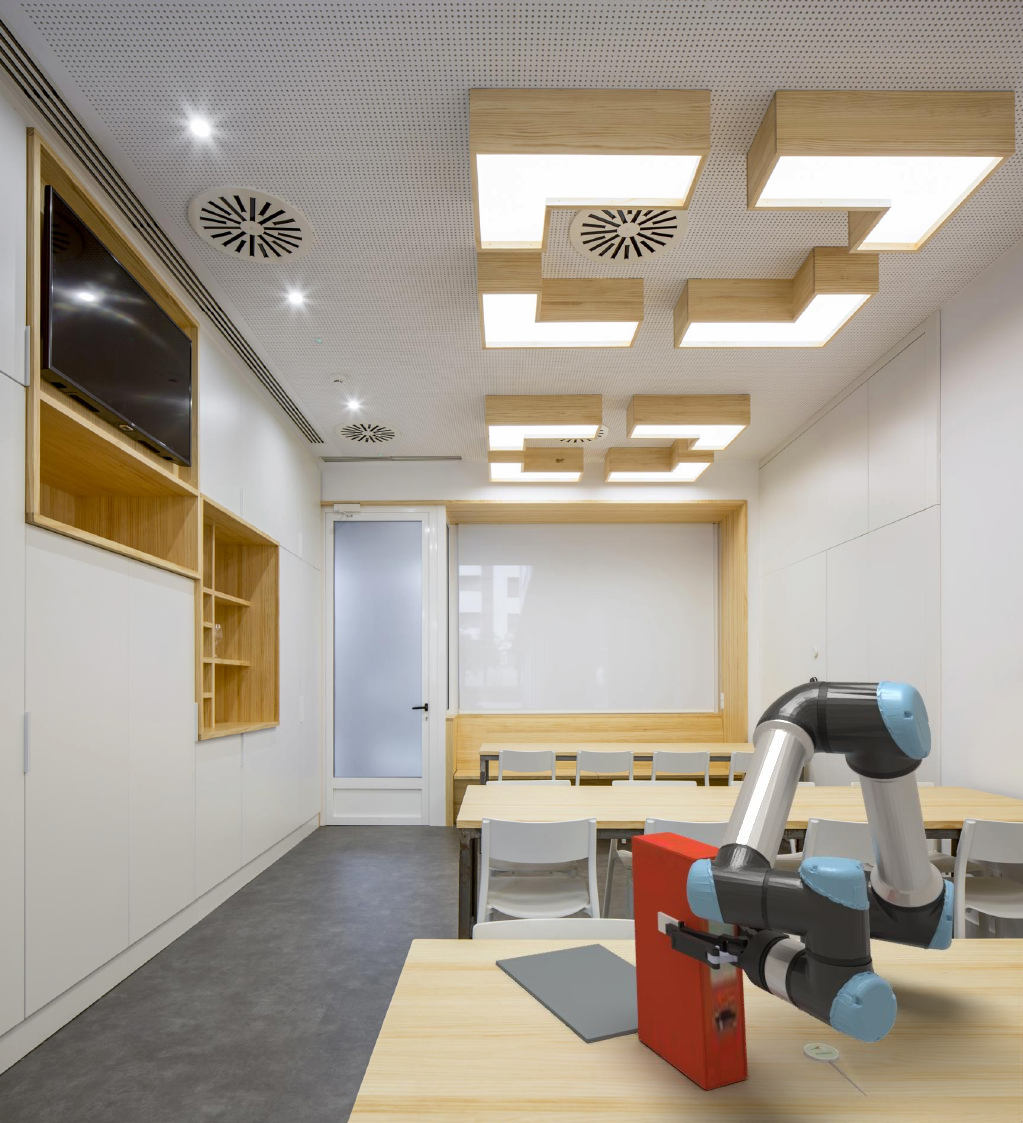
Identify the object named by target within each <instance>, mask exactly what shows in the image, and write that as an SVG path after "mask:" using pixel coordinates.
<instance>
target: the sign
mask: <svg viewBox="0 0 1023 1123" xmlns="http://www.w3.org/2000/svg"><path fill="white" fill-rule="evenodd" d="M802 1050H803V1054H804V1055H805V1057H807V1058H808V1059H810V1060H813V1061H815V1062H820V1063H829V1064H830V1065H831V1066H832V1067H833V1068H834V1069H835V1070H836V1071H838V1072H839V1073H840V1074H841V1075H842V1076H843V1077H844V1078H845V1079H846V1080H847V1081H848V1082H849V1083H851V1084H852V1085H853V1086H854V1087H855V1088H856V1089H858V1091H859V1092H860V1093H862V1094H863V1095H864V1096H865V1097H867V1096H868V1095H867V1094H866V1093H865V1092H864V1091H863V1090H862V1089H861V1088H859V1086H857V1085H856V1083H855V1082H853V1080H851V1079H850V1078H849V1077H848V1076H847V1075H846V1074H845V1073H844V1072H843V1071H842V1070H841V1069H840V1068H839V1067H838V1066H837V1065H836V1064H835V1063H834V1062H837V1061H838V1060H839V1059H840V1052H839V1050H837V1049H836V1048H835V1047H834V1046H831V1045H828V1044H827V1043H821V1042H812V1043H807V1044H805V1045H804V1046H803V1049H802Z"/></svg>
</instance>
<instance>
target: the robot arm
mask: <svg viewBox="0 0 1023 1123" xmlns="http://www.w3.org/2000/svg"><path fill="white" fill-rule="evenodd" d="M931 733H932V732H931V728H930V724H929V715H928V712H927V709H926V705H925V702H924V699H923V697H922V695H921V693H920V691H919V690H918V689H917V688H916V687H915V686H913V685H911V684H910V683H907V682H906V683H905V682H891V681H889V680H882V681H880V682H866V681H865V682H864V681H863V682H862V681H861V682H860V681H855V682H854V681H821V680H820V681H819V680H818V681H809V682H806V683H801V684H800V685H797V686H794V687H793V688H791V689H789V690H788V691H786V692H785V693H783V694H782V695H780V696H779V697H778V698H776V700H774V701H773V702H772V703H771V704H770V705H769V706H768V708H766V710H765V711H764V712H763V713H762V715H761V716H760V718H759V720H758V721H757V724H756V726H755V729H754V731H753V734H752V745H753V747H754V751H753V753H752V756H751V758H750V761H749V764H748V766H747V770H746V773H745V776H744V778H743V781H742V783H741V787H740V789H739V792H738V796H737V797H736V801H735V804H734V806H733V809H732V812H731V815H730V817H729V819H728V822H727V826H726V827H725V831H724V834H723V837H722V840H721V842H720V845H719V846H718V848H719V850H718V853H717V855H716V858H715V860H711V859H707V860H706V859H699V860H697V861H696V862H695V863H693V864H692V866H691V868H690V870H689V874H688V879H687V898H688V902H689V905H690V909H691V911H692V912H693V913H694V914H695V915H696V916H697V917H700V918H703V919H707V920H711V921H715V922H719V923H721V924H725V923H727V924H733V925H737V930H738V937H736V936H732V935H728V934H722V935H720V936H718V935H714V934H711V933H707V932H703V931H696V930H694V929H692V928H688V927H686V925H685V924H684V921H678V920H676V919H674V918H672V917H670V916H668V915H666V914H664V913H662V912H658V930H659V931H661V932H663V933H664V934H666V935H668V936H669V937H671V948H672V949H674V950H676V951H678V952H681V953H683V954H685V955H687V956H690V957H692V958H694V959H697V960H699V961H701V962H703V963H706V964H707V965H708V966H710V967H711V968H712V969H715V970H719V969H720V963H726V962H727V963H730V964H731V965H732V966H736V967H738V968H741V969H743V971H744V972H743V973H745V975H746V977H747V978H748V980H749V981H750V982H751V983H752V984H753V985H754V986H755V987H757V988H759V989H761V990H762V991H765V992H767V993H769V995H772V996H775V997H776V998H779V999H780V1000H782V1001H784V1002H786V1003H787V1004H790V1005H792V1006H793V1007H795V1008H797V1010H798V1011H799V1012H804V1013H806V1014H808V1015H809V1016H811V1017H812V1018H815V1019H816V1020H819V1021H820V1022H822V1023H824V1024H825V1025H828V1026H829V1027H831V1028H832V1029H833V1030H835V1031H836V1032H838V1033H840V1034H844V1035H846V1036H848V1037H850V1038H853V1039H855V1040H859V1041H860V1042H863V1043H870V1044H871V1043H876V1042H879V1041H881V1040H883V1039H884V1038H886V1037H887V1035H889V1033H890V1032H891V1031H892V1029H893V1027H894V1026H895V1025H894V1024H895V1022H896V1018H897V1013H898V1003H897V997H896V995H895V993H894V991H893V988H892V986H891V984H890V983H889V982H888V981H887V980H886V979H885V978H882V977H881V976H880V975H879V974H877V973H875V970H874V966H873V963H874V962H873V957H872V954H871V952H872V950H871V949H872V948H871V940H875V941H876V940H877V941H882V942H886V943H891V944H892V943H893V944H898V945H903V946H907V947H912V948H913V947H914V948H919V949H924V950H936V951H937V950H939V951H946V950H948V949H949V948H951V946H952V940H953V924H954V922H953V921H954V902H955V900H954V899H955V883H953V881H949V880H948V879H945V878H943V876H942V873H941V871H940V870H939V869H938V867H936V865H934V864H933V863H932V862H931V860H930V854H929V848H928V843H927V842H928V841H927V836H926V831H925V823H924V817H923V812H922V806H921V800H920V793H919V789H918V787H919V786H918V782H917V781H918V780H917V776H916V771H917V770H918V769H919V768H920V766H921V765H922V762H923V760H924V759H926V758H927V757H929V755H930V754H931V750H932V734H931ZM818 753H820V754H821V753H822V754H823V753H825V754H834V755H835V754H836V755H844V757H845V763H846V764H847V766H848V768H849V769H850V770H851V771H853V773H854V774H856V775H858V778H859V784H860V788H861V793H862V798H863V803H864V808H865V814H866V818H867V822H868V829H869V834H870V839H871V843H872V848H873V852H874V853H873V854H874V858H875V862H876V863H875V864H874V866H873V867H872V868H871V870H866V869H864V865H863V863H862V861H861V860H858V859H854V858H850V857H838V856H810V857H807V858H804V859H803V860H802V862H801V863H800V864H801V865H800V866H799V868H798V869H797V870H798V871H794V870H793V871H792V870H787V869H780V868H779V869H778V868H774V867H775V863H776V861H777V856H778V853H779V850H780V847H781V843H782V839H783V836H784V833H785V829H786V826H787V822H788V819H789V815H790V813H791V812H790V811H791V808H792V805H793V801H794V798H795V796H796V795H795V794H796V792H797V788H798V785H799V782H800V779H801V778H800V777H801V775H802V772H803V771H802V770H803V767H805V766H807V765H808V764H809V763H810V762H811V761H812V759H813V757H814V754H818ZM790 935H791V936H797V937H799V940H796V939H794V938H792V937H790ZM727 941H728V942H727Z"/></svg>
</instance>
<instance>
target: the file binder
mask: <svg viewBox="0 0 1023 1123" xmlns="http://www.w3.org/2000/svg"><path fill="white" fill-rule="evenodd" d="M718 850H719V847H717V846H713V845H711V844H708V843H704V842H702V841H699V840H695V839H693V838H689V837H686V836H683V835H680V834H677V833H674V832H670V831H664V832H657V833H649V834H641V835H639V834H638V835H633V836H631V859H632V862H631V863H632V887H633V890H632V892H633V893H632V896H633V915H634V917H633V919H634V946H635V949H634V950H635V951H634V952H635V967H636V982H637V1011H638V1032H637V1033H638V1034H637V1035H638V1039H639V1040H640V1042H642V1043H643V1044H645V1045H646V1046H647V1047H648V1048H650V1049H651V1050H653V1051H654V1052H655V1053H656V1054H658V1055H659V1056H660V1057H662V1058H663V1060H666V1061H667V1062H668V1063H669V1064H671V1065H672V1066H673V1067H675V1068H676V1069H677V1070H679V1071H680V1072H681V1073H683V1074H684V1075H685V1076H686V1077H687V1078H689V1079H690V1080H692V1082H694V1083H695V1084H697V1085H698V1086H700V1087H701V1088H702V1089H704V1090H707V1091H709V1090H714V1089H716V1088H721V1087H723V1086H726V1085H731V1084H734V1083H738V1082H740V1081H744V1080H748V1077H749V1075H748V1073H749V1072H748V1055H747V1054H748V1053H747V1036H746V1035H747V1033H746V1032H747V1031H746V1011H745V994H744V993H745V992H744V991H745V990H744V972H743V971H744V970H743V969H741V968H738V967H736V966H732V965H731V964H730V963H727V962H726V963H720V969H719V970H715V969H712V968H711V967H710V966H708V965H707V964H706V963H703V962H701V961H699V960H697V959H694V958H692V957H690V956H687V955H685V954H683V953H681V952H678V951H676V950H674V949H672V948H671V937H669V936H668V935H666V934H664V933H663V932H661V931H659V930H658V912H662V913H664V914H666V915H668V916H670V917H672V918H674V919H676V920H678V921H684V924H685V925H686V927H688V928H692V929H694V930H696V931H703V932H707V933H711V934H714V935H718V936H720V935H722V934H728V935H732V936H736V937H738V930H737V925H733V924H727V923H725V924H721V923H719V922H715V921H711V920H707V919H703V918H700V917H697V916H696V915H695V914H694V913H693V912H692V911H691V909H690V905H689V902H688V898H687V879H688V874H689V870H690V868H691V866H692V864H693V863H695V862H696V861H697V860H699V859H706V860H707V859H711V860H715V858H716V855H717V853H718ZM727 942H728V941H727Z"/></svg>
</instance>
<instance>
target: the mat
mask: <svg viewBox="0 0 1023 1123" xmlns="http://www.w3.org/2000/svg"><path fill="white" fill-rule="evenodd" d="M495 965H497V967H499V968H500V969H501V970H502V971H503V972H504V973H506V974H507V975H508V976H509V977H510V978H511V979H512V980H514V982H516V983H518V985H519V986H520V987H522V988H523V989H524V990H525V991H526V992H527V993H528V994H530V995H531V996H532V997H533V998H535V1000H536V1001H538V1002H539V1003H540V1004H541V1005H542V1006H544V1007H545V1009H547V1010H548V1011H550V1013H552V1014H553V1015H554V1016H555V1017H556V1018H558V1019H559V1020H560V1021H561V1022H562V1023H563V1024H564V1025H565V1026H567V1027H568V1028H569V1029H570V1030H572V1032H574V1034H576V1035H577V1036H579V1037H580V1039H582V1040H583V1041H584V1042H585V1043H587V1044H589V1043H590V1044H592V1043H595V1042H599V1041H604V1040H608V1039H613V1038H616V1037H622V1036H625V1035H627V1036H628V1035H632V1034H635V1033H636V1034H637V1033H638V1011H637V982H636V965H633V964H632V963H630V962H629V961H627V960H625V959H624V958H622V957H621V956H619V955H618V954H616V953H614V952H612V951H611V950H610V949H608V948H607V947H606V946H603V945H601V944H600V943H595V944H589V945H582V946H577V947H570V948H564V949H559V950H551V951H547V952H540V953H533V954H529V955H523V956H517V957H512V958H511V957H509V958H504V959H498V960H495Z"/></svg>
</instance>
